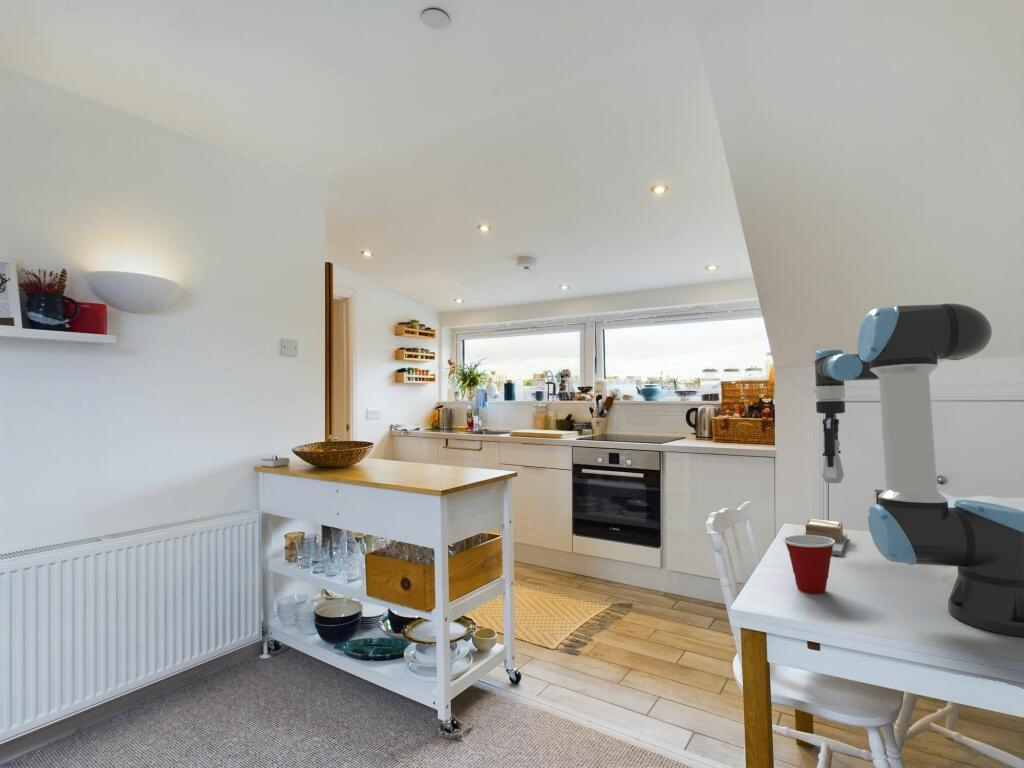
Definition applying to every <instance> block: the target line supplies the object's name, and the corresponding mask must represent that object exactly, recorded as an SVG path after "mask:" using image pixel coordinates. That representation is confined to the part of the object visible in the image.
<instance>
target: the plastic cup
mask: <svg viewBox="0 0 1024 768" xmlns="http://www.w3.org/2000/svg"><path fill="white" fill-rule="evenodd" d="M782 541H783V542H784V543H785V545H786V548H787V551H788V554H789V558H790V562H791V568H792V572H793V574H794V579H795V585H796V587H797V590H799V591H801V592H803V591H804V593H808V594H813V595H815V594H816V595H821V594H824V593H826V590H827V585H828V584H827V583H828V578H829V574H830V564H831V559H832V558H831V557H832V556H833V555H832V549H833V545H834V543H835V540H834V539H832V538H828V537H824V536H816V535H804V534H795V535H789V536H785V537H783V538H782Z"/></svg>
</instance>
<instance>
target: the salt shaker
mask: <svg viewBox="0 0 1024 768" xmlns="http://www.w3.org/2000/svg"><path fill="white" fill-rule="evenodd" d="M822 445H823V447H824V440H823V443H822ZM840 446H841V443H840V440H839V439H838V440H835V454H836V455H835V456H836V475H837V478H826V466H825V456H823V463H822V468H821V471H820V472H821V477H822V479H823V480H824V482H825V483H827V484H840V483H842V480H843V479H844V476H845V474H844V470H843V466H842V461H841V457H840V453H839V452H838V451H839V450H838V448H840Z"/></svg>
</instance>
